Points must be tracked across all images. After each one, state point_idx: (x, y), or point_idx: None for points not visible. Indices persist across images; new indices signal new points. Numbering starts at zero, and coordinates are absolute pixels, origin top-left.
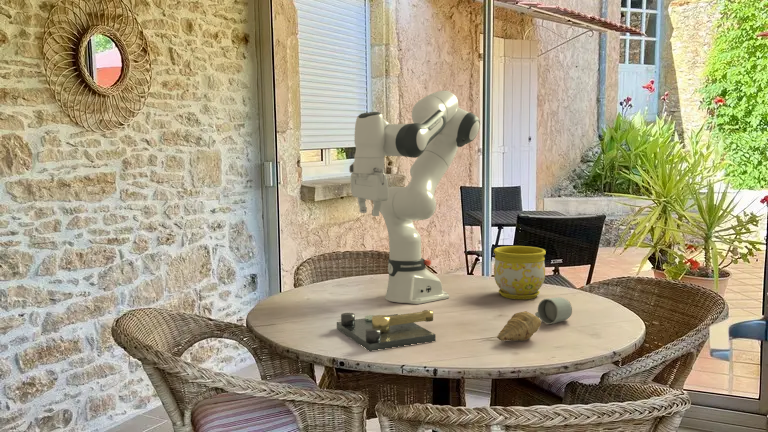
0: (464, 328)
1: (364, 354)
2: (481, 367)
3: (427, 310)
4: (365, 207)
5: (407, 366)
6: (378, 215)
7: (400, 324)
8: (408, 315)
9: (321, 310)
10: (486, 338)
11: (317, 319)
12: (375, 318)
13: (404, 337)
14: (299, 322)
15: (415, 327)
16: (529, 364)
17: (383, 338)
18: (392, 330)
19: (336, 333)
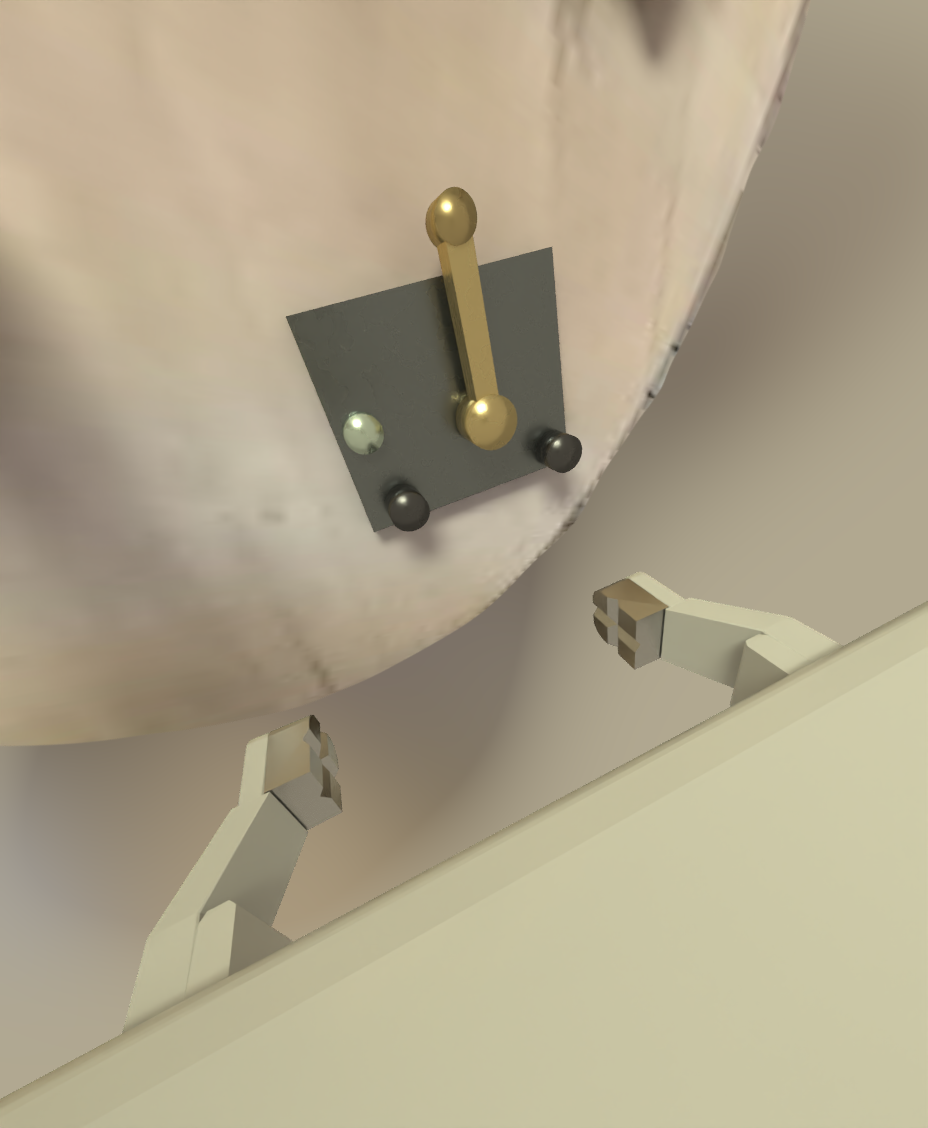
0: (427, 27)
1: None
2: (735, 202)
3: (443, 211)
4: (317, 779)
5: (658, 387)
6: (640, 577)
7: (428, 340)
8: (483, 319)
9: (143, 577)
10: (564, 3)
11: (269, 578)
12: (502, 441)
13: (549, 360)
14: (301, 616)
15: None
16: (788, 18)
17: (540, 420)
18: None
19: None
